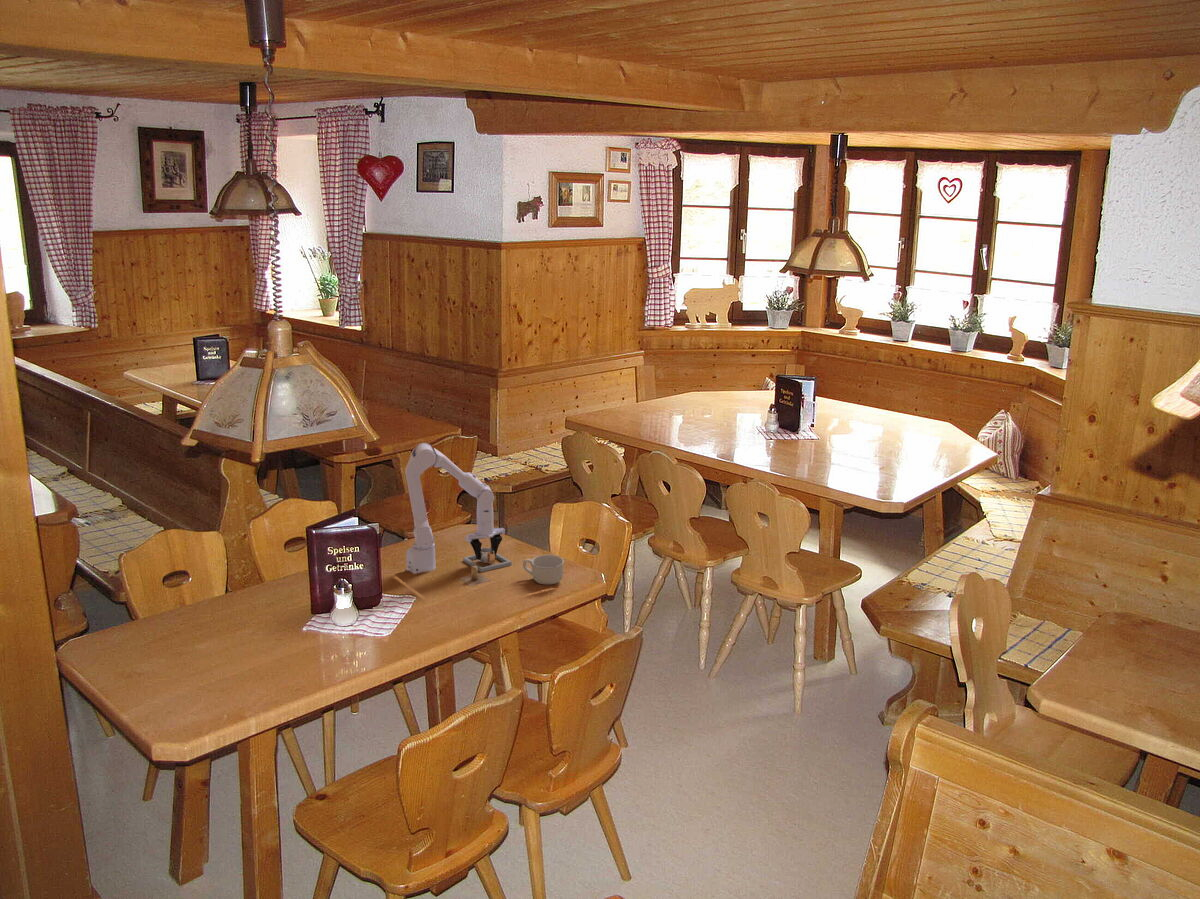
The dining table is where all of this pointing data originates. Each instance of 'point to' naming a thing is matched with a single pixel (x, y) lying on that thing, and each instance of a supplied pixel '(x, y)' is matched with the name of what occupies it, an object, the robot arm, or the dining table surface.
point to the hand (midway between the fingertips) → (486, 557)
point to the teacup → (545, 569)
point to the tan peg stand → (474, 577)
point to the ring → (487, 555)
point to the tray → (487, 568)
